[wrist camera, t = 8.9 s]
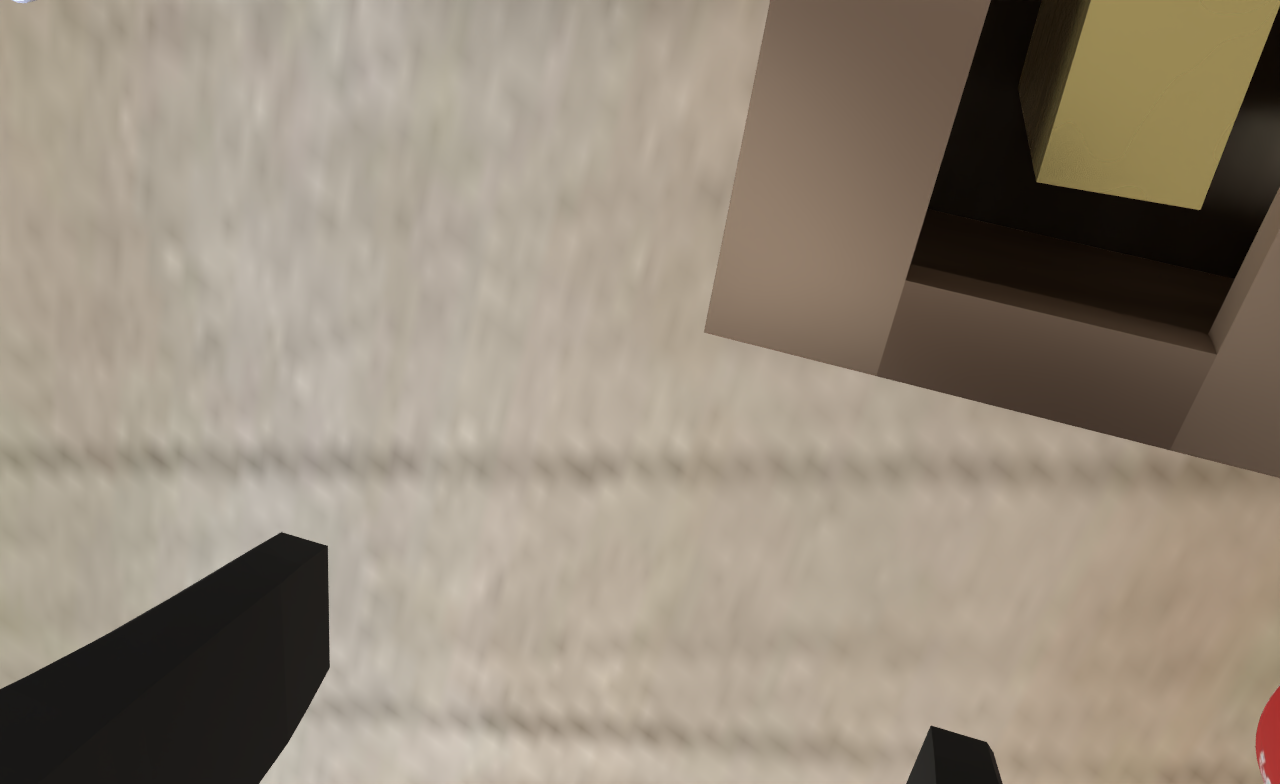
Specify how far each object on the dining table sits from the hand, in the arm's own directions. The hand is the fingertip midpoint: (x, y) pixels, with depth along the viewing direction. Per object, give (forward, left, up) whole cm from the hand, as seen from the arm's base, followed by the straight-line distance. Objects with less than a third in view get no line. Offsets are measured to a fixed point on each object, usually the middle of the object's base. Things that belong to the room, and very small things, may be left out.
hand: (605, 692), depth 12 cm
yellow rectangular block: (-2, +9, -10) cm, 14 cm away
